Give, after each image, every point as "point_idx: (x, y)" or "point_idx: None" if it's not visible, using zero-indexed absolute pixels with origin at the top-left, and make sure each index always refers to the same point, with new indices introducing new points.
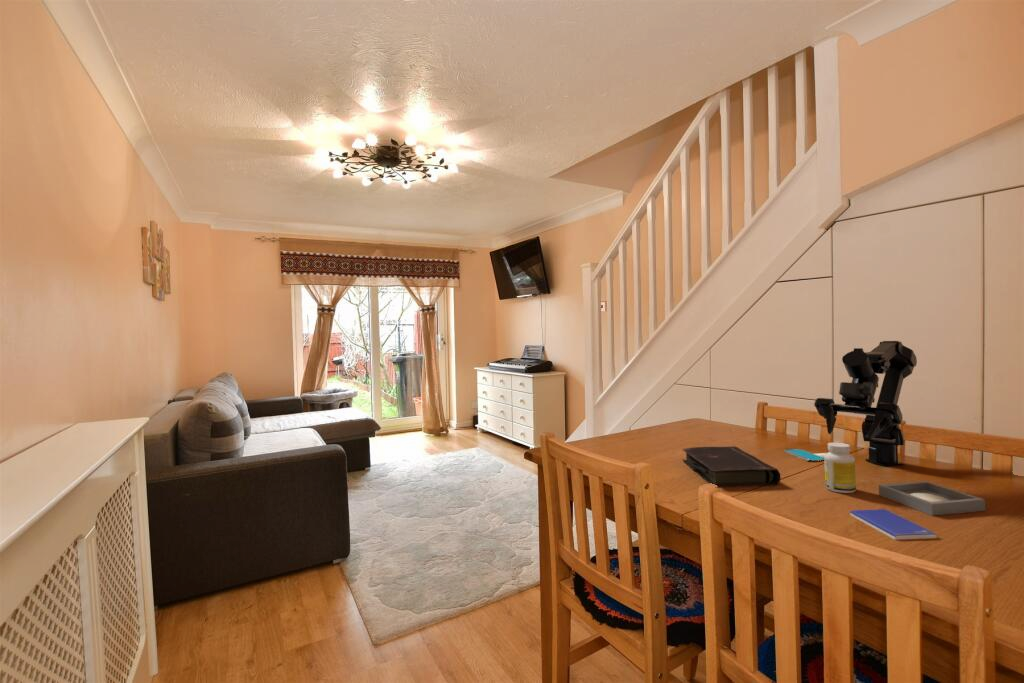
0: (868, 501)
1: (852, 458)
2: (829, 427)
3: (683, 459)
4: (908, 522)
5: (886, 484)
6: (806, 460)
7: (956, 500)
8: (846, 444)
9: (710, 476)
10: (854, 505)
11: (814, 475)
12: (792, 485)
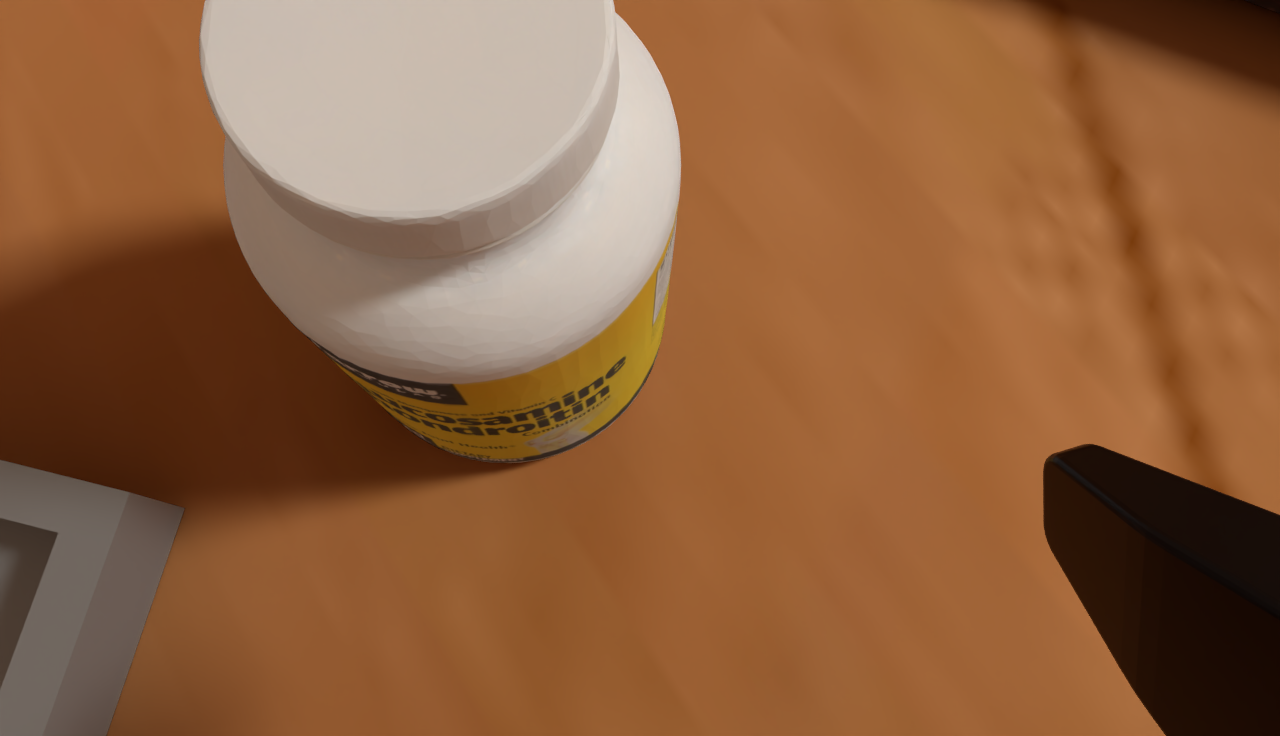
0: (145, 227)
1: (229, 177)
2: (1155, 513)
3: None
4: None
5: (86, 600)
6: None
7: None
8: (326, 167)
9: None
10: (159, 16)
11: (1033, 550)
12: (851, 12)
